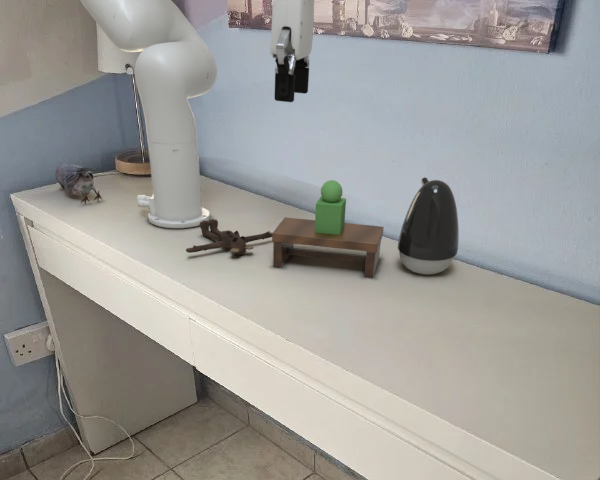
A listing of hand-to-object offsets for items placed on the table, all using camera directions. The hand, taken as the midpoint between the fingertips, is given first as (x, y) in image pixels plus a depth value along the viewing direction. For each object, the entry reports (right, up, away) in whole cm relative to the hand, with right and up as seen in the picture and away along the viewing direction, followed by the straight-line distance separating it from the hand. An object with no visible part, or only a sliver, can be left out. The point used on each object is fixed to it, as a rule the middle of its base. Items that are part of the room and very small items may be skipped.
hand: (291, 96), depth 105 cm
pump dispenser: (+23, -29, +4) cm, 37 cm away
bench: (+6, -27, +5) cm, 28 cm away
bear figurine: (-13, -23, +11) cm, 28 cm away
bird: (-49, -6, +34) cm, 60 cm away
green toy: (+6, -22, +1) cm, 23 cm away
